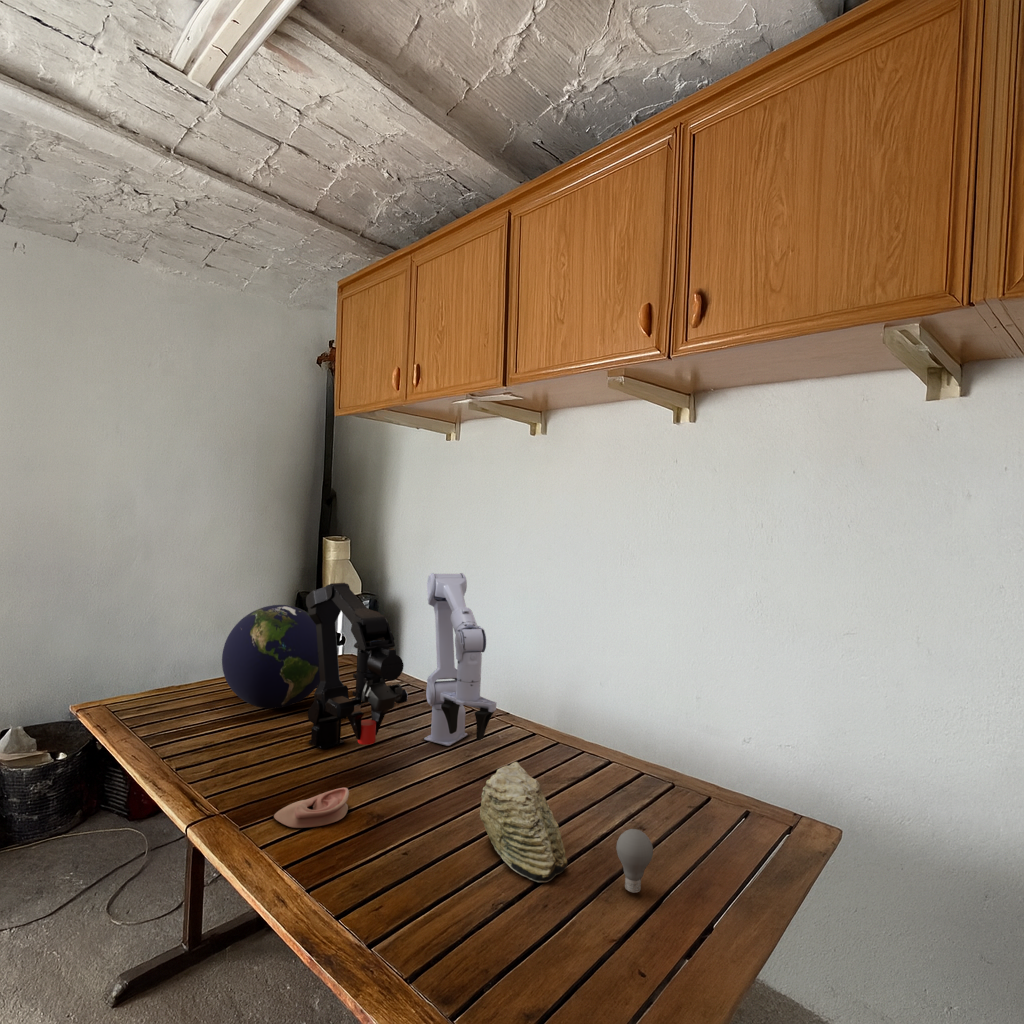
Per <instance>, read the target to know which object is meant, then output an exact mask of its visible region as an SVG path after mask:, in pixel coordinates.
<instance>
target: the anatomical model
mask: <svg viewBox="0 0 1024 1024" xmlns="http://www.w3.org/2000/svg"><path fill="white" fill-rule="evenodd" d="M349 795H350V791H349V788H347V787H339V788H336V789H332V790H328V791H325V792H323V793H319V794H317V795H314V796H312V797H310V798H307V799H301V800H299V801H295V802H293V803H289V804H288V805H286V806H284V807H282V808H281V809H279V810H278V811H276V812H275V813H274V815H273V818H274V819H275V820H276V821H277V822H279V823H281V824H282V825H284V826H287V827H289V828H293V829H303V828H315V827H321V826H326V825H330V824H333V823H335V822H338V821H340V820H342V819H343V818H345V816H346V815H347V813H348V810H349V805H348V803H347V802H348V799H349Z"/></svg>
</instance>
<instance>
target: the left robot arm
mask: <svg viewBox="0 0 1024 1024" xmlns="http://www.w3.org/2000/svg"><path fill="white" fill-rule="evenodd" d="M305 604H306V608H307V613H309V616H310V617H311V619H312V620H313V621H314V623H315V624H316V631H317V646H318V660H319V674H320V683H319V685H318V686H317V688H316V689H315V690H314V693H313V702H312V704H311V705H310V707H309V708H308V709H307V712H306V713H307V720H308V722H310V723H312V727H311V730H310V731H311V732H310V733H311V735H310V739H309V740H308V743H309V744H310V745H313V746H314V747H316V748H318V749H320V750H327V749H329V748H333V747H336V746H340V745H343V744H344V743H345V741H344V740H343V739H341V737H342V735H341V733H342V720H346V719H347V720H348V722H349V724H350V726H351V729H352V731H353V734H354V736H355V739H356V740H357V741H358V740H360V737H361V721H362V719H363V717H364V715H365V713H364V712H363V711H362V706H367V705H370V711H371V713H370V714H371V720H374V721H376V736H377V735H378V733H379V731H380V730H379V729H380V728H381V725H382V723H383V720H384V718H385V716H386V714H387V712H389V711H390V710H393V709H394V707H395V704H404V703H407V702H408V695H409V693H408V692H407V690H406V689H405V688H403V687H402V685H401V684H400V683H396V684H392V685H391V684H388V685H387V682H386V681H389V682H392V681H394V680H397V679H398V678H399V677H400V676H401V675H402V673H403V671H404V662H403V659H402V658H401V656H400V655H398V654H397V649H396V648H395V646H396V644H395V637H394V634H393V632H392V630H391V628H390V624H389V622H388V620H387V618H386V617H385V615H383V614H382V613H380V612H379V611H376V610H372V609H370V608H368V607H367V606H366V605H365V604H364V603H363V602H362V601H361V599H360V598H359V597H358V596H357V595H356V594H355V593H354V592H353V590H351V587H350V585H349V584H348V583H346V582H333V583H329V584H327V585H325V586H323V587H321V588H320V587H319V588H318V589H312V590H311V591H310V592H309V594H307V596H306V597H305ZM341 613H342V614H343V615H344V616H345V617H346V618H347V620H348V621H349V622H350V624H351V626H350V632H351V634H352V635H353V637H354V639H355V643H354V644H353V647H354V648H355V649H357V651H356V672H353V673H352V678H353V679H355V690H352V696H353V697H354V698H351V699H350V697H349V687H348V685H346V684H345V685H344V683H343V682H342V680H341V679H340V667H339V654H338V653H339V652H338V640H337V627H336V626H337V625H336V623H337V620H338V618H339V617H340V614H341Z"/></svg>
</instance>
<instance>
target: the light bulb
mask: <svg viewBox="0 0 1024 1024" xmlns="http://www.w3.org/2000/svg"><path fill="white" fill-rule="evenodd" d="M615 849H616V854H617V857H618V859H619V861H620V863H621V865H622V867H623V873H624V874H623V875H624V876H625V878H624V888H625V890H627V891H628V892H630V893H634V894H635V893H639V892H640V891H641V889H642V887H641V886H642V879H643V877H644V875H645V871H646V868H647V867H648V866H649V864H650V863H651V861H652V859H653V855H654V847H653V843H652V841H651V838H649V836H648V835H647V834H646V833H645V832H643V831H642V830H641V829H636V828H629V829H627V830H625V831H623V832H622V833H621V834H620V835H619V837H618V839H617V841H616V847H615Z"/></svg>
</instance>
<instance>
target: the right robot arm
mask: <svg viewBox="0 0 1024 1024" xmlns="http://www.w3.org/2000/svg"><path fill="white" fill-rule="evenodd" d="M467 587H468V581H467V577H466V575H465V574H464V572H460V573H434V572H430V574H429V575H428V577H427V582H426V593H427V594H426V596H427V604H428V605H429V606H431V607H433V611H434V623H435V624H434V625H435V649H436V668H435V670H433V671H432V672H431V673H430V674H429V675H428V676H427V679H426V689H425V690H426V691H425V693H426V701H427V702H426V703H427V704H428V705H429V706H430V707H431V722H430V723H431V724H430V726H431V728H430V734H429V735H427V736H425V737H424V738H423V740H424V741H427V742H431V743H435V744H437V745H438V744H439V745H443V746H446V747H450V746H451V745H454V744H455V743H457V742H459V741H461V740H463V738H465V737H467V736H468V733H467V732H466V708H465V706H466V707H471V708H475V709H478V710H477V711H475V712H474V717H475V723H476V741H482V740H484V737H485V734H486V730H487V727H488V724H489V723H490V720H491V717H493V714H494V713H495V712H496V711H497V702H496V701H493V700H490V699H488V698H485V697H483V696H481V686H482V685H481V684H482V683H481V682H482V661H483V653H485V651H486V649H487V635H486V632H485V629H484V628H483V627H482V626H481V625H478V623H477V620H476V618H475V615H474V612H473V611H472V609H471V608H469V607H467V604H466V600H465V594H466V593H467ZM454 634H455V635H454ZM454 636H455V637H454ZM455 660H457V667H456V666H455V664H456V663H455ZM451 679H452V680H451Z"/></svg>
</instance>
